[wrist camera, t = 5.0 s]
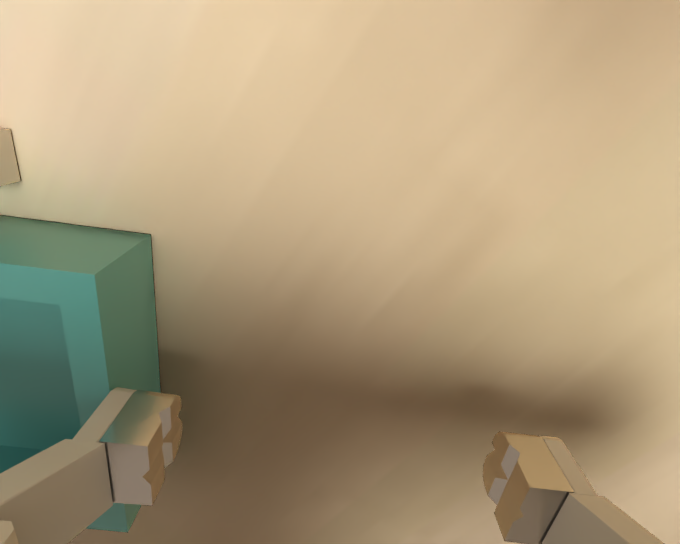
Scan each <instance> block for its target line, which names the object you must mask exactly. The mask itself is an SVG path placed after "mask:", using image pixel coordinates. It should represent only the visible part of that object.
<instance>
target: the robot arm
mask: <svg viewBox="0 0 680 544" xmlns="http://www.w3.org/2000/svg"><path fill="white" fill-rule="evenodd" d="M181 408H182V404H181V397H180V396H179V395H173V394H166V393H158V392H151V391H144V390H133V389H126V388H119V387H117V388H115V389H113V390H111V391H110V392H109V394H108V395H107V396H106V397H105V399H104V400H103V401H102V403H101V404H100V405H99V406H98V408H97V409H96V410H95V411H94V413H93V414H92V415H91V416H90V418H89V419H88V420H87V421H86V423H85V424H84V425H83V426H82V428H81V429H80V430H79V431H78V433H77V434H76V435H75V436H74V438H73V439H64V440H62V441H60V442H59V443H57V444H55V445H53V446H51V447H49V448H47V449H45V450H43V451H42V452H40V453H38V454H36V455H34V456H32V457H30V458H28V459H27V460H25V461H23V462H21V463H19V464H17V465H15V466H13V467H12V468H10V469H8V470H6V471H4V472H2V473H0V544H68V543H69V542H70V541H71V540H72V539H74V538H75V537H76V536H77V535H78V534H80V533H81V532H82V531H83V530H84V529H86V528H87V527H88V526H89V525H90V524H91V523H93V522H94V521H95V520H96V519H97V518H99V517H100V516H101V515H102V514H103V513H104V512H106V511H107V510H108V509H109V508H110V507H112V506H113V503H123V504H138V505H153V503H154V501H155V499H156V497H157V495H158V493H159V491H160V488H161V486H162V484H163V482H164V480H165V469H164V468H165V467H167V466H168V465H170V464H171V463H172V462H173V461H174V458H175V456H176V454H177V452H178V448H179V445H180V441H181V436H182V421H181V420H180V419H179V417H178V414H179V412H180V410H181ZM492 444H493V446H494V449H495V450H494V451H492V452H491V453H489V454H488V455H487V456H486V459H485V462H484V465H483V480H484V486H485V489H486V492H487V495H488V496H489V497H490V498H491V499H492V500H493V501H494V502H495V503H496V504H497V507H496V509H495V512H494V514H495V517H496V520H497V522H498V525H499V528H500V531H501V533H502V536H503V539H504V541H509V542H517V543H524V544H664V543H663V542H662V541H660V540H659V539H658V538H657V537H655V536H654V535H653V534H651V533H650V532H649V531H648V530H646V529H645V528H644V527H642V526H641V525H640V524H639V523H637V522H636V521H635V520H633V519H632V518H631V517H630V516H628V515H627V514H626V513H625V512H623V511H622V510H621V509H619V508H618V507H617V506H616V505H614V504H613V503H612V502H610V501H609V500H608V499H607V498H605V497H603V496H598V495H597V494H596V492H595V491H594V489H593V488H592V486H591V484H590V483H589V481H588V480H587V478H586V477H585V475H584V473H583V472H582V470H581V469H580V467H579V466H578V464H577V462H576V461H575V459H574V458H573V456H572V455H571V453H570V452H569V450H568V448H567V447H566V445H565V444H564V442H563V441H562V440H561V439H559V438H558V437H549V436H539V435H538V436H536V435H528V434H519V433H509V432H498V433H497V434H496V435H495V436H494V439H493V441H492Z"/></svg>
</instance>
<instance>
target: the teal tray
mask: <svg viewBox="0 0 680 544" xmlns="http://www.w3.org/2000/svg"><path fill="white" fill-rule="evenodd" d="M117 387H119V388H126V389H133V390H144V391H151V392H158V393H161V389H160V373H159V358H158V342H157V326H156V310H155V295H154V279H153V263H152V248H151V235H150V234H142V233H135V232H127V231H119V230H111V229H103V228H96V227H88V226H80V225H72V224H64V223H57V222H49V221H41V220H33V219H25V218H18V217H10V216H2V215H0V473H2V472H4V471H6V470H8V469H10V468H12V467H13V466H15V465H17V464H19V463H21V462H23V461H25V460H27V459H28V458H30V457H32V456H34V455H36V454H38V453H40V452H42V451H43V450H45V449H47V448H49V447H51V446H53V445H55V444H57V443H59V442H60V441H62V440H64V439H73V438H74V436H75V435H76V434H77V433H78V431H79V430H80V429H81V428H82V426H83V425H84V424H85V423H86V421H87V420H88V419H89V418H90V416H91V415H92V414H93V413H94V411H95V410H96V409H97V408H98V406H99V405H100V404H101V403H102V401H103V400H104V399H105V397H106V396H107V395H108V394H109V392H110V391H111V390H113V389H115V388H117ZM140 507H141V505H138V504H123V503H113V506H112V507H110V508H109V509H108V510H107V511H106V512H104V513H103V514H102V515H101V516H100V517H99V518H97V519H96V520H95V521H94V522H93V523H91V524H90V525H89V526H88V527H87V529H97V530H108V531H118V532H128V531H129V529H130V527H131V525H132V523H133V521H134V519H135V517H136V515H137V513H138V511H139V509H140Z"/></svg>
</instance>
